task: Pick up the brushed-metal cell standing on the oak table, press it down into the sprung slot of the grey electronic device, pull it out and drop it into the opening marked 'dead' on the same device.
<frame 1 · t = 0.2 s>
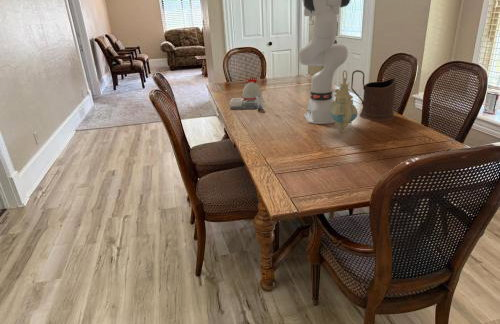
hand: (320, 23, 204), 48 cm above the table, fingers open, 8 cm apart
cell: (259, 109, 215), on the table
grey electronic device: (244, 106, 223), on the table
brown pitcher: (371, 116, 192), on the table
kitchen timer: (252, 98, 243), on the table
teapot: (341, 133, 169), on the table
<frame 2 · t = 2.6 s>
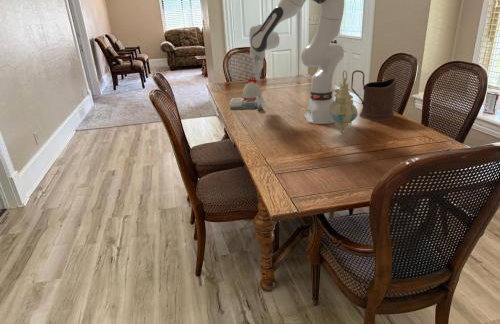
hand: (258, 78, 208), 19 cm above the table, fingers open, 8 cm apart
nothing on the table moved.
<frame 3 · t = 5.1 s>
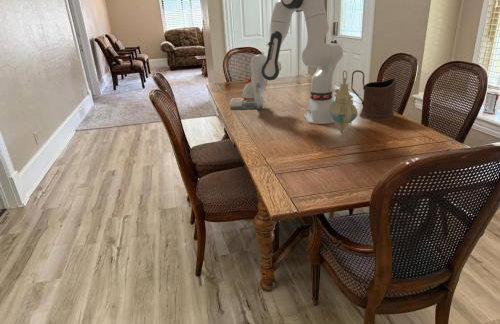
hand: (259, 104, 214), 3 cm above the table, fingers closed on cell, 4 cm apart
cell: (259, 109, 215), on the table, touching gripper
everything else where it was.
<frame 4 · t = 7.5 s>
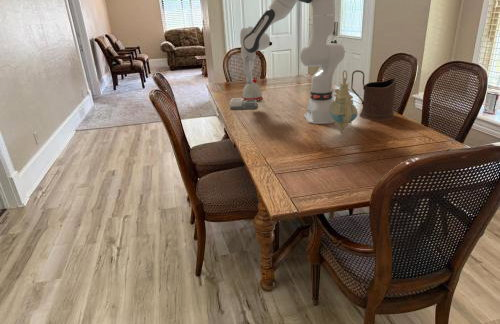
hand: (249, 78, 215), 18 cm above the table, fingers closed on cell, 4 cm apart
cell: (249, 83, 216), point 15 cm above the table, touching gripper
everything else where it was.
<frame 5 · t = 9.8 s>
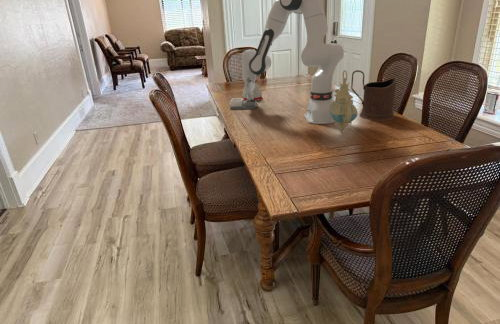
hand: (250, 98, 220), 5 cm above the table, fingers closed on cell, 4 cm apart
cell: (250, 103, 221), point 2 cm above the table, touching gripper
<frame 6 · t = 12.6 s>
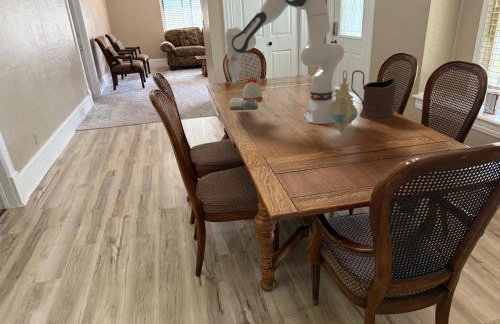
hand: (235, 78, 216), 18 cm above the table, fingers closed on cell, 4 cm apart
cell: (235, 83, 217), point 15 cm above the table, touching gripper
everything else where it was.
when the fingers open (6 cm above the table, at t = 15.0 s): cell drops 2 cm, resting on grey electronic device.
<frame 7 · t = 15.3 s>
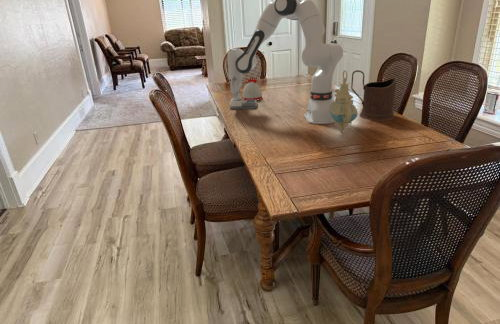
hand: (236, 97, 221), 6 cm above the table, fingers open, 7 cm apart
cell: (237, 104, 223), point 1 cm above the table, touching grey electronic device
everything else where it was.
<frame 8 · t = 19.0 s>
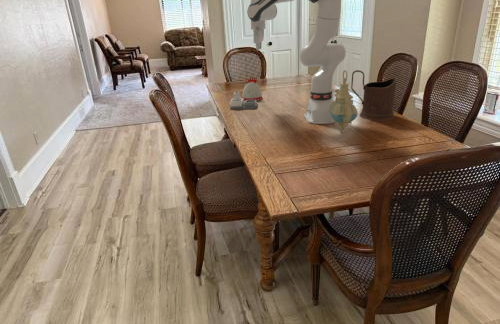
hand: (259, 49, 215), 34 cm above the table, fingers open, 8 cm apart
nothing on the table moved.
at the end: cell 0.0 cm from the target spot on the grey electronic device, point 1.2 cm above the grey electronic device's base; cell tilted 1°; the gripper is holding nothing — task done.
